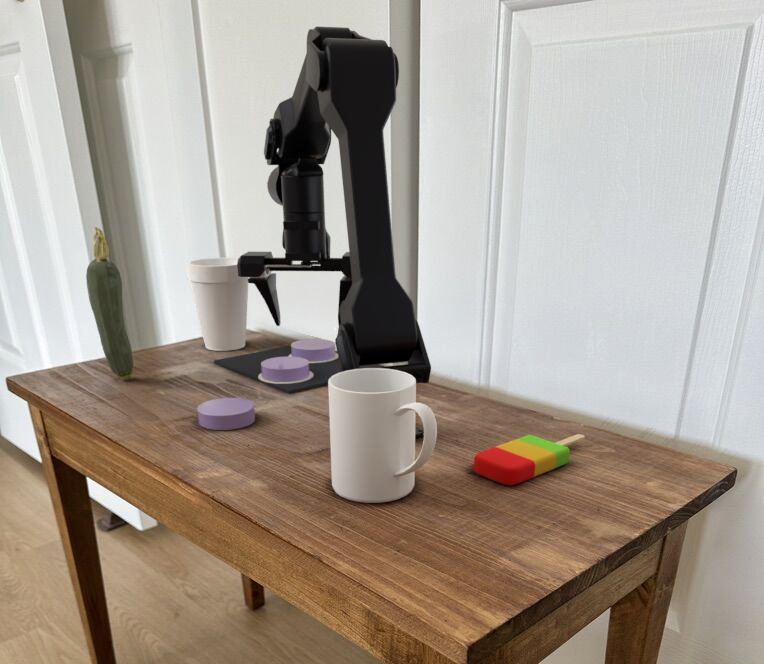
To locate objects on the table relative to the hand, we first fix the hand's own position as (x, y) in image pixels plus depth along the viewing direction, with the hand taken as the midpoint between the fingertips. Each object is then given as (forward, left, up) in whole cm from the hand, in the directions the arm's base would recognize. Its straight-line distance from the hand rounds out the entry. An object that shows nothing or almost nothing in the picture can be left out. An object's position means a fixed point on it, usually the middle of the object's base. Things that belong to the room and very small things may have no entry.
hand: (309, 325), depth 111 cm
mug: (-43, +22, -6) cm, 49 cm away
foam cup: (+17, +5, -6) cm, 18 cm away
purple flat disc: (-15, +23, -5) cm, 28 cm away
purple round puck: (-5, +8, -5) cm, 11 cm away
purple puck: (+1, -1, -5) cm, 5 cm away
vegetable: (+9, +26, -6) cm, 28 cm away
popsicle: (-47, +5, -6) cm, 48 cm away
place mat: (-1, +3, -5) cm, 6 cm away
